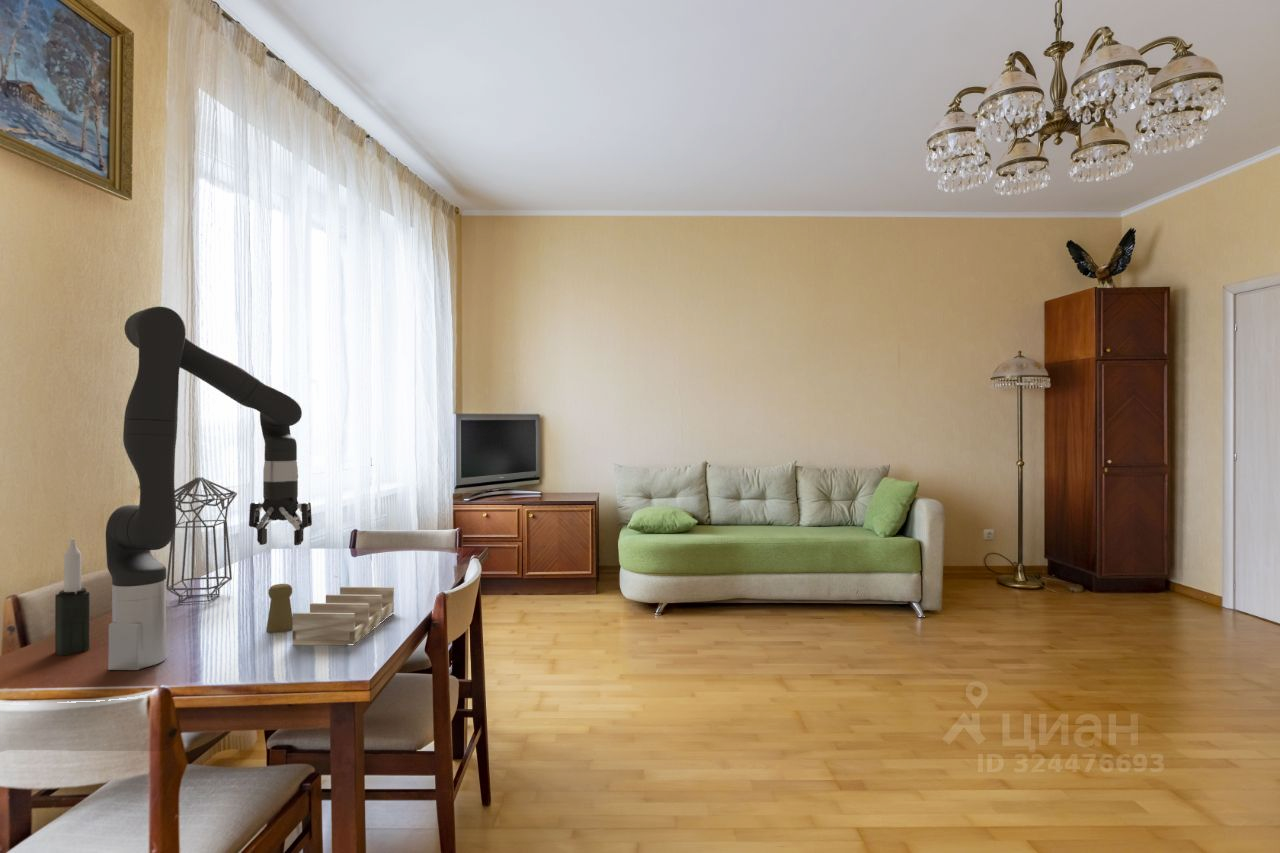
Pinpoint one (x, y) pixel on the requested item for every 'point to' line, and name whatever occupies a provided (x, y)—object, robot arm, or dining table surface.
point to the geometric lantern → (232, 494)
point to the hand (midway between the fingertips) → (280, 544)
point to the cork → (280, 609)
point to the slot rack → (343, 616)
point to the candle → (72, 607)
